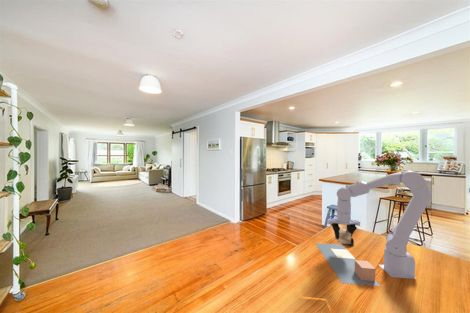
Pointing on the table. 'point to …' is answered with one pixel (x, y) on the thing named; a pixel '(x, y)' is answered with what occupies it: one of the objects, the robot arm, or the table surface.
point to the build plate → (351, 242)
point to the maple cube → (344, 237)
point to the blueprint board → (342, 264)
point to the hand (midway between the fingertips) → (342, 238)
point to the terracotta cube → (364, 270)
